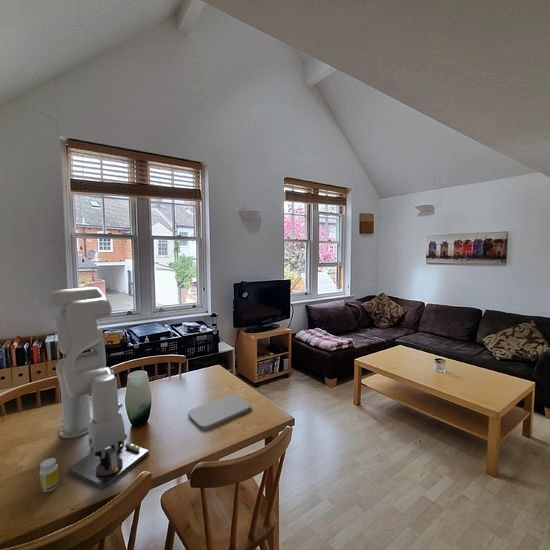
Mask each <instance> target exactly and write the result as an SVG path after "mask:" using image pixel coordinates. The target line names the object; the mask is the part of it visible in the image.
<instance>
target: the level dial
mask: <svg viewBox="0 0 550 550" xmlns="http://www.w3.org/2000/svg"><path fill="white" fill-rule="evenodd" d="M105 453H106V456H107V457H108V468H105V467H104V466H101V463H100V464H99V465H98V466H97V467H96V474H97V475H98V476H101V477H105V476H109V475H112V474H114V473H116V472H117V471H119V470H120V469H121V467H122V465H123V461H122V459H121V458H119V457H117V455H116V451H115V450H114V449H112V448H111V447H110V446H109V447H107V448H105Z"/></svg>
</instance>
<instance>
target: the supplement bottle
mask: <svg viewBox="0 0 550 550" xmlns="http://www.w3.org/2000/svg"><path fill="white" fill-rule="evenodd" d="M39 465H40V466H39V467H40V468H39V469H40V470H39V483H40V491H41V492H43V493H47V492H51V491H53V490H55V489H56V488H57V487H58V486H59V484H60V475H59V465H58V464H57V460H56V457H50V458H47V459H44V460H43V461H41V462H40V464H39Z"/></svg>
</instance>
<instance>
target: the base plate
mask: <svg viewBox="0 0 550 550" xmlns="http://www.w3.org/2000/svg"><path fill="white" fill-rule="evenodd" d="M147 456H149V450H148V449H146V448H143V447H141V446H139V445H137V444H135V443H131V442H127V441H126V440H124V445H123V447H122V448H121V449H119V450H118V451H117V457H119V458H121V459H122V461H123V465H122V467H121V469H120V470H119V471H117V472H116V473H114V474H112V475H109V476H105V477H101V476H98V475H97V474H96V467H97V466H98V465H99V464H100V463H101V461H100V457H98V456H91V457H89V456H88V455H86V456H84V457H83V458H81V459H79V460H78V461H76V462H75V463H74V464H72V465H71V466H69V467H67V473H68V474H70V475H72V476H74V477H76V478H78V479H81V481H84V482H86V483H89V484H90V485H92V486H94V487H96V488H98V489H101V490H103V491H105V490H106V489H107V488H108V487H109V486H111V485H112V484H114V482H116V481H117V480H118V479H119V478H121V477H122V476H123V475H125V474H126V473H127V472H128V471H130V470H131V469H132V468H133V467H134V466H135V465H137V464H138V463H140V462H141V461H142V460H143V459H145V457H147Z"/></svg>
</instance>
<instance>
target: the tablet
mask: <svg viewBox="0 0 550 550" xmlns="http://www.w3.org/2000/svg"><path fill="white" fill-rule="evenodd" d="M250 408H251V404H250V402H248V401H247V400H246V399H243V398H242V397H241V396H239V395H238V394H235V393H231V394H227V395H225V396H221V397H220V398H217V399H215V400H212V401H209V402H207V403H204V404H201V405H199V406H196V407H193V408H192V409H189V410H188V411H187V416H188V418H189V419H191V421H192V422H193V423H194V424H195V425H197V426H198V427H199V428H200V429H201V430H208V429H211V428H213V427H215V426H217V425H219V424H222V423H223V422H226V421H228V420H230V419H233V418H235V417H238V416H239V415H241V414H244V413H246V412H248V411H249V410H250Z"/></svg>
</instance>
